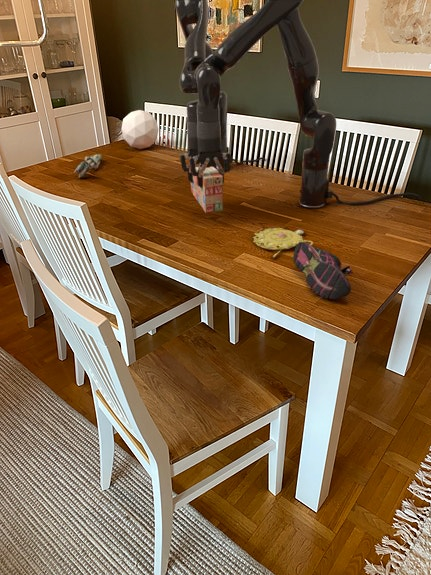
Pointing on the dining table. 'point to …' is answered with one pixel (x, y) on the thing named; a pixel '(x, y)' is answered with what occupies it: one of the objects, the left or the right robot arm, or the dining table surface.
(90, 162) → the figurine
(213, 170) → the stack of blocks
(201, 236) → the dining table surface
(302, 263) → the athletic shoe
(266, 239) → the decorative object
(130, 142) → the sphere
